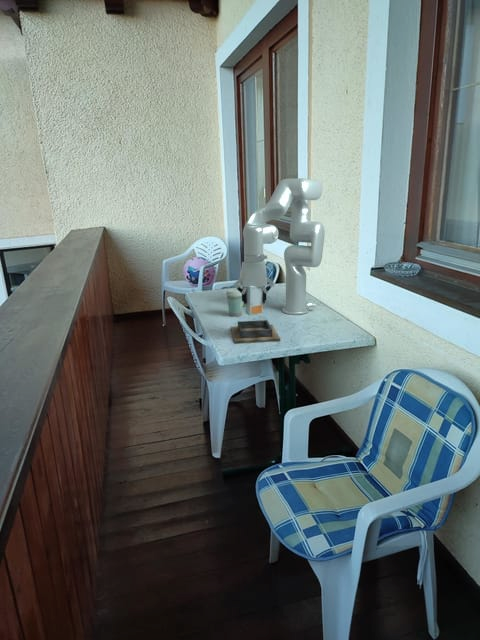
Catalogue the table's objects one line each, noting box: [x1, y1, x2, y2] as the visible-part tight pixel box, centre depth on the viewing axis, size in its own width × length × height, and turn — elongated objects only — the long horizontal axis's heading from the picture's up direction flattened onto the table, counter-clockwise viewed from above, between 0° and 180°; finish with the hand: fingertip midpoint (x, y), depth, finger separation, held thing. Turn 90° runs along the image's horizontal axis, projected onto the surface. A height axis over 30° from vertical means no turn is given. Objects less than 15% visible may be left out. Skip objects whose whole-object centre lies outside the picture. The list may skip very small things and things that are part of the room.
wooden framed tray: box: [230, 319, 281, 345], centre depth 181 cm, size 18×18×4 cm
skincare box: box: [244, 286, 264, 317], centre depth 176 cm, size 6×4×12 cm
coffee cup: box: [225, 287, 244, 318], centre depth 206 cm, size 8×8×12 cm
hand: (254, 302), depth 177 cm, fingers closed on skincare box, 7 cm apart
